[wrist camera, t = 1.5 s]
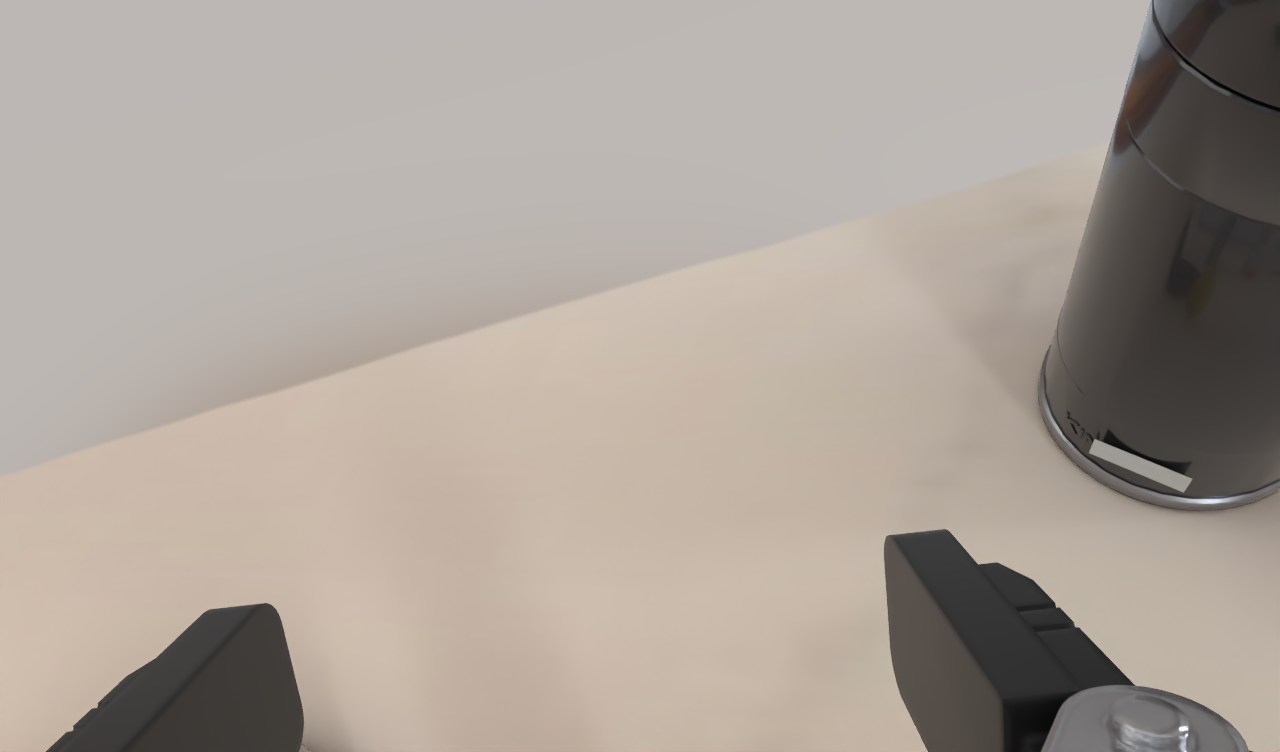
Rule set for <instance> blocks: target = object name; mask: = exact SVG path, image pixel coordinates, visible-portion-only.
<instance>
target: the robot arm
mask: <svg viewBox="0 0 1280 752" xmlns="http://www.w3.org/2000/svg"><path fill="white" fill-rule="evenodd" d="M1038 399H1039V405H1040V410H1041V413H1042V416H1043V419H1044V421H1045V424H1046V426H1047V428H1048V430H1049V432H1050V433H1051V435H1052V437H1053V438H1054V440H1055V441H1056V443H1057V444H1058V445H1059V447H1060V448H1061V449H1062V450H1063V451H1064V452H1065V454H1066V455H1067V456H1068V457H1069V458H1070V459H1071V460H1072V461H1073V462H1074V463H1075V464H1076V465H1078V466H1079V467H1080V468H1081V469H1083V470H1084V471H1085V472H1086V473H1088V474H1089V475H1090V476H1092V477H1093V478H1095V479H1096V480H1098V481H1099V482H1101V483H1103V484H1105V485H1106V486H1108V487H1110V488H1112V489H1114V490H1116V491H1118V492H1120V493H1122V494H1125V495H1127V496H1130V497H1132V498H1135V499H1138V500H1141V501H1144V502H1148V503H1151V504H1155V505H1159V506H1164V507H1169V508H1176V509H1185V510H1217V509H1226V508H1232V507H1237V506H1241V505H1245V504H1248V503H1252V502H1254V501H1257V500H1260V499H1262V498H1264V497H1266V496H1268V495H1270V494H1272V493H1274V492H1275V491H1277V490H1279V489H1280V0H1151V2H1150V6H1149V9H1148V13H1147V16H1146V20H1145V23H1144V26H1143V30H1142V33H1141V37H1140V40H1139V44H1138V47H1137V51H1136V54H1135V58H1134V61H1133V64H1132V68H1131V71H1130V75H1129V78H1128V82H1127V85H1126V89H1125V94H1124V98H1123V101H1122V104H1121V108H1120V111H1119V114H1118V118H1117V121H1116V125H1115V129H1114V132H1113V135H1112V139H1111V142H1110V145H1109V149H1108V152H1107V156H1106V159H1105V163H1104V166H1103V169H1102V173H1101V176H1100V180H1099V183H1098V187H1097V190H1096V194H1095V197H1094V200H1093V204H1092V207H1091V211H1090V214H1089V218H1088V221H1087V224H1086V228H1085V231H1084V235H1083V238H1082V242H1081V245H1080V249H1079V252H1078V255H1077V259H1076V262H1075V266H1074V269H1073V273H1072V276H1071V279H1070V283H1069V286H1068V290H1067V293H1066V297H1065V300H1064V304H1063V307H1062V309H1061V313H1060V316H1059V319H1058V323H1057V326H1056V330H1055V333H1054V337H1053V340H1052V344H1051V345H1050V347H1049V349H1048V351H1047V353H1046V355H1045V358H1044V361H1043V364H1042V368H1041V371H1040V376H1039V381H1038ZM884 561H885V576H886V591H887V606H888V621H889V635H890V649H891V657H892V663H893V668H894V673H895V677H896V681H897V685H898V688H899V691H900V694H901V697H902V699H903V701H904V703H905V705H906V707H907V710H908V712H909V714H910V716H911V718H912V720H913V722H914V724H915V726H916V728H917V730H918V732H919V734H920V736H921V738H922V740H923V742H924V744H925V746H926V749H927V751H928V752H1251V751H1249V750H1248V747H1247V745H1246V742H1245V740H1244V739H1243V738H1242V736H1241V735H1240V733H1239V732H1238V731H1237V730H1236V729H1235V728H1234V727H1233V726H1232V725H1231V724H1230V723H1229V722H1228V721H1226V720H1225V719H1224V718H1223V717H1221V716H1220V715H1219V714H1217V713H1215V712H1214V711H1212V710H1210V709H1209V708H1207V707H1205V706H1203V705H1201V704H1199V703H1197V702H1195V701H1192V700H1190V699H1187V698H1185V697H1182V696H1179V695H1176V694H1173V693H1170V692H1166V691H1162V690H1158V689H1153V688H1148V687H1141V686H1135V685H1134V684H1133V683H1132V682H1131V681H1130V680H1129V679H1128V678H1127V677H1126V676H1125V675H1124V674H1123V673H1122V672H1121V671H1120V670H1119V669H1118V668H1117V666H1116V665H1115V664H1114V663H1113V662H1112V661H1111V660H1110V659H1109V658H1108V657H1107V656H1106V655H1105V654H1104V653H1103V652H1102V651H1101V650H1100V649H1099V648H1098V647H1097V646H1096V645H1095V644H1094V643H1093V642H1092V641H1091V640H1090V639H1089V638H1088V636H1087V635H1086V634H1085V633H1084V632H1083V631H1082V630H1081V629H1080V628H1079V627H1078V628H1075V626H1074V622H1073V621H1072V620H1071V619H1070V618H1069V617H1068V616H1067V615H1066V614H1065V613H1064V612H1063V611H1062V610H1061V609H1060V608H1056V606H1055V602H1054V601H1053V600H1052V599H1051V598H1050V597H1049V596H1048V595H1047V594H1046V593H1045V592H1044V591H1043V590H1042V589H1041V588H1040V587H1039V586H1038V585H1037V584H1036V583H1035V582H1034V581H1033V580H1032V579H1030V578H1028V577H1026V576H1024V575H1022V574H1020V573H1018V572H1016V571H1013V570H1011V569H1009V568H1007V567H1005V566H1003V565H1001V564H999V563H989V564H979V565H978V564H977V563H976V562H975V561H974V559H973V558H972V557H971V556H970V555H969V554H968V552H967V551H966V550H965V549H964V548H963V547H962V546H961V544H960V543H959V542H958V541H957V540H956V539H955V537H954V536H953V535H952V534H951V533H950V532H949V531H948V530H946V529H943V530H934V531H925V532H916V533H907V534H898V535H889V536H887V537H886V539H885V544H884ZM73 727H74V729H73V731H71V732H66V733H65V734H64V735H63V736H62V737H61V738H60V739H59V740H58V741H57V742H56V743H55V744H54V745H53V746H51V747H50V748H49V749H48V750H47V751H46V752H299V750H300V747H301V742H302V737H303V727H304V718H303V709H302V704H301V700H300V696H299V692H298V688H297V683H296V679H295V675H294V671H293V667H292V663H291V659H290V655H289V650H288V646H287V642H286V638H285V634H284V630H283V626H282V622H281V619H280V616H279V614H278V612H277V611H276V609H275V608H274V607H273V606H272V605H270V604H267V603H264V604H255V605H246V606H237V607H228V608H219V609H210V610H208V611H206V612H205V613H203V614H202V615H201V616H200V617H199V618H198V619H197V620H196V621H195V622H194V623H193V624H192V625H191V626H190V627H188V628H187V629H186V630H185V631H184V632H183V633H182V634H181V635H180V636H179V637H178V638H177V639H176V640H175V641H174V642H173V643H172V644H171V645H170V646H168V647H167V648H166V649H165V650H164V651H163V652H162V653H161V654H160V655H159V656H158V657H157V658H156V659H154V660H153V661H151V662H149V663H148V664H146V665H144V666H143V667H141V668H139V669H138V670H136V671H135V672H133V673H131V674H130V675H128V676H127V677H125V678H124V679H123V680H122V681H121V682H120V683H119V684H118V685H117V686H116V687H115V688H114V689H113V690H112V691H110V692H109V693H108V694H107V695H106V696H105V697H104V698H103V699H102V700H101V701H100V702H99V703H98V708H94V709H91V710H90V711H89V712H88V713H87V714H86V715H85V716H84V717H83V718H81V719H80V720H79V721H78V722H77V723H76V724H75V725H74V726H73Z"/></svg>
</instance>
